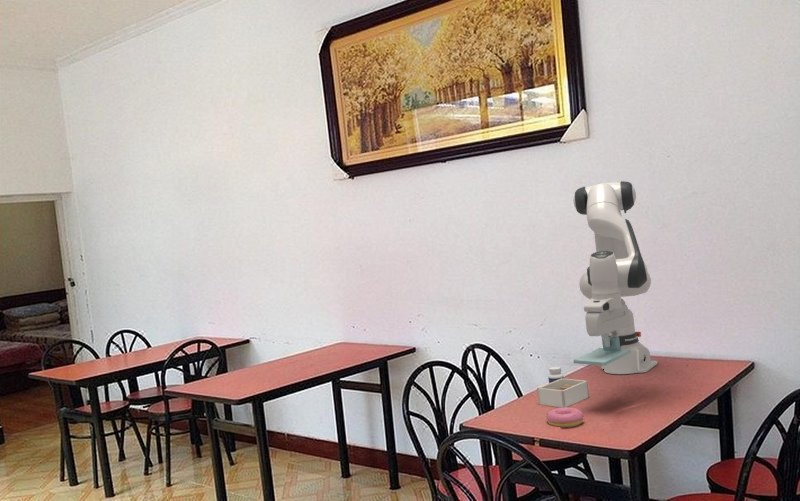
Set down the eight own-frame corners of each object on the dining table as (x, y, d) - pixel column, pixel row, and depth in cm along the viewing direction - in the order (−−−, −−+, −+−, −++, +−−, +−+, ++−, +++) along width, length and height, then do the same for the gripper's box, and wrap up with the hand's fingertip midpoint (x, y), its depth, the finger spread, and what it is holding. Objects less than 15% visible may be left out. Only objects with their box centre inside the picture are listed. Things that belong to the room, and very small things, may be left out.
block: (566, 396, 239) (565, 384, 239) (577, 397, 237) (576, 385, 237) (561, 399, 236) (559, 387, 236) (572, 400, 234) (571, 388, 234)
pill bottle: (565, 394, 244) (562, 369, 244) (550, 395, 245) (547, 370, 245) (565, 390, 249) (562, 365, 249) (549, 391, 250) (547, 366, 250)
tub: (563, 395, 243) (562, 378, 243) (589, 398, 235) (587, 380, 235) (539, 406, 234) (537, 388, 233) (564, 409, 226) (562, 391, 226)
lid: (599, 350, 231) (597, 336, 231) (630, 352, 223) (628, 337, 223) (573, 363, 221) (571, 347, 221) (604, 365, 213) (602, 349, 213)
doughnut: (561, 431, 205) (560, 417, 205) (539, 423, 215) (538, 410, 215) (592, 423, 209) (590, 409, 209) (569, 416, 219) (567, 402, 219)
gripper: (615, 297, 235) (619, 338, 235) (580, 307, 221) (585, 351, 221) (632, 297, 230) (637, 339, 230) (598, 307, 216) (602, 352, 217)
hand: (611, 345), depth 226 cm, fingers closed on lid, 2 cm apart
